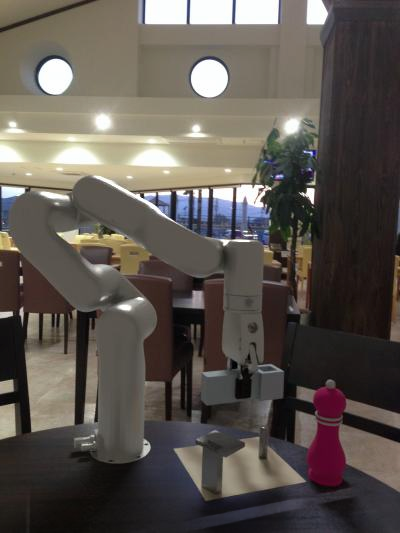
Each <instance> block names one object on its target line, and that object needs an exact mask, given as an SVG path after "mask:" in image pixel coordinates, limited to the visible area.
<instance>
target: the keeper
mask: <svg viewBox="0 0 400 533" xmlns="http://www.w3.org/2000/svg"><path fill="white" fill-rule="evenodd" d="M195 445H196V446H197V445H199V446H202V447H203V453H202V481H201V487H202V488H204V489H206V490H208V491H210V492H211V493H213V494H215V495H217V494H219V493H220V492H222V472H223V457H225V458H226V457H228V456H230V455H231V454H233V453H235V452H237V451H238V450H240V449H242V448H244V447H245V442H243V441H240V439H238V438H235V437H233V436H231V435H228V434H227V433H223V432H221V431H218V430H216V429H214V430H212V431H210V432H208V433H206V434H204V435H202V436H200V437H197V438H196V439H195Z"/></svg>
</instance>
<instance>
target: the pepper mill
mask: <svg viewBox="0 0 400 533" xmlns="http://www.w3.org/2000/svg"><path fill="white" fill-rule="evenodd" d="M312 402H313V403H312V404H313V406H314V408H315V409H316V411H315V412H314V415H315V416H314V420H315V422H316V424H317V425H316V426H317V427H316V433H315V436H314V437H313V440H312V441H311V443H310V445H309V447H308V450H307V453H306V463H307V465H308V467H309V469H308V473H307V475H308V478H309V479H310V480H312V481H313V482H314V483H316V484H319V485H321V486H324V487H325V486H326V487H327V486H328V487H336V486H339V485H341V484H342V483H343V479H344V478H343V475H342V473H344V472H345V470H346V468H347V458H346V453H345V452H344V451H345V450H344V447H343V445H342V444H341V439H340V425H342V424H343V412H344V411H345V410H346V408H347V399H346V395H345V394H344V393H343V392H342V391H341V390H340V389H338V388H336V382H335V380H332V379H327V381H326V382H325V386H322V387H320V388H318V389H317V390H316V391H315V392H314V395H313V399H312ZM339 490H340V488H339V489H334V490H330V491H328V492H329V493H330V492H331V493H332V492H338V491H339Z"/></svg>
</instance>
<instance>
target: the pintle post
mask: <svg viewBox="0 0 400 533" xmlns="http://www.w3.org/2000/svg"><path fill="white" fill-rule="evenodd" d="M269 431H270V430H269V426H268V425H260V426H259V434H258V435H259V436H258V437H259V454H258V457H259V458H260V459H267V452H268V446H269Z"/></svg>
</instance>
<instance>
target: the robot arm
mask: <svg viewBox="0 0 400 533" xmlns="http://www.w3.org/2000/svg"><path fill="white" fill-rule="evenodd" d="M97 224H100V225H102V226H104V227H106V228H108V229H110V230H111V231H113V232H114V233H116V234H119V235H120V236H122V237H125V238H126V239H128V240H130V241H131V242H133V243H134V244H136V245H137V246H138V247H140V248H141V249H143V250H145V251H146V252H147V253H149V254H150V255H152V256H154V258H156V259H158V260H159V261H162V262H163V263H165V264H167V265H169V266H170V267H173V268H174V269H176V270H178V271H180V272H182V273H184V274H186V275H187V276H191V277H192V278H193V277H194V278H197V279H198V278H199V279H203V278H208V277H210V276H212V275H215V274H223V276H224V277H223V297H222V298H223V300H222V301H223V304H222V310H223V311H224V315H223V322H222V332H221V333H222V334H221V336H222V337H221V350H222V353H223V354H224V356H225V358H226V362H227V363H226V370H232V369H238V378H236V384H235V398H236V399H246V398H250V397H251V385H252V379H253V374H254V373H255V372H258V365H259V364H260V365H261V364H262V363H263V362H264V358H265V357H264V354H265V346H264V345H265V337H264V334H265V332H264V322H263V321H264V320H263V314H262V311H263V308H262V307H263V284H264V283H263V282H264V265H265V263H264V260H265V246H264V244H263V242H262V241H260V240H257V239H230V240H227V239H221V238H215V237H211V236H210V237H209V236H202V235H200V234H198V233H197V232H194V231H193V230H191V229H189V228H187V227H185V226H183V225H182V224H179V223H178V222H177V221H175V220H173V219H172V218H169V217H168V216H166V215H165V214H164V213H163V212H162V211H161V210H160V208H159V207H158V206H156V205H155V204H154V203H152V202H150V201H148V200H146V199H144V198H142V197H141V196H138V195H137V194H134V193H133V192H131V191H129V190H127V189H125V188H123V186H121V185H120V184H119V183H117V182H116V181H113V180H111V179H108V178H106V177H103V176H100V175H95V174H91V175H86V176H83V177H81V178H80V179H78V180H77V181H76V182H75V183H74V185H73V187H72V191H71V192H67V193H64V194H61V193H56V192H52V191H44V190H31V191H26V192H23V193H21V194H20V195H18V196H17V197H15V199H14V200H13V202H12V204H11V206H10V209H9V211H8V229H9V230H8V231H9V234H10V237H11V239H12V241H13V244H14V245H15V247H16V248H17V250H18V251H19V253H20V254H21V255H22V256H23V258H25V259H26V260H27V261H28V262H29V263H30V264H31V265H32V266H33V267H34V268H35V269H36V270H37V271H38V272H40V273H41V275H42V276H43V277H44V278H45V279H46V280H47V281H48V283H50V284H51V286H53V288H54V289H55V290H56V291H57V292H58V293H59V294H60V295H61V296H62V297H63V298H64V299H65V300H66V301H67V302H68V303H69V304H70V305H71V306H72V307H73V308H74V309H76V310H77V311H79V312H83V313H89V312H93V311H96V310H97V311H98V310H100V311H101V312H102V313H101V315H100V317H99V318H98V320H97V323H96V326H95V342H96V349H97V359H98V363H97V364H98V371H97V372H98V373H97V374H98V377H97V378H98V386H97V387H98V390H97V392H98V398H97V399H98V402H97V428H96V429H94V433H92V434H90V435H89V436H84V437H83V436H80V437H73V446H74V448H75V449H76V448H81V452H89V453H90V455H91V456H92V457H93V459H96V460H97V461H100V462H104V463H108V464H126V463H132V462H135V461H138V460H141V459H142V458H145V456H147V455H148V454H149V453H150V451H151V448H152V447H151V444H150V442H149V441H148V440H147V439H146V438H145V410H146V409H145V403H146V402H145V401H146V400H145V399H146V358H145V350H144V341H145V339H148V337H149V336H150V335H151V334H153V332H154V331H155V328H156V326H157V323H158V315H157V312H156V309H155V307H154V306H153V304H152V303H151V302H150V300H148V298H147V297H146V296H145V295H144V294H143V293H142V292H141V291H140V290H139V289H138V288H137V287H136V286H135V285H134V284H133V283H132V282H131V281H130V280H129V279H128V278H127V277H125V275H124V274H123V273H122V272H120V271H119V270H118V269H116V268H115V267H113V266H111V265H108V264H104V263H103V264H101V263H99V264H98V263H96V264H94V263H93V264H92V263H91V262H89V260H87V258H85V257H84V256H83V255H82V254H81V253H80V252H79V251H78V250H77V249H76V248H75V247H74V246H73V245H72V243H70V242H68V241H67V240H66V239H64V238H63V237H61V235H59V233H68V232H72V231H77V230H79V229H84V228H85V227H89V226H93V225H97ZM243 367H245V368H244V370H243Z"/></svg>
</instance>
